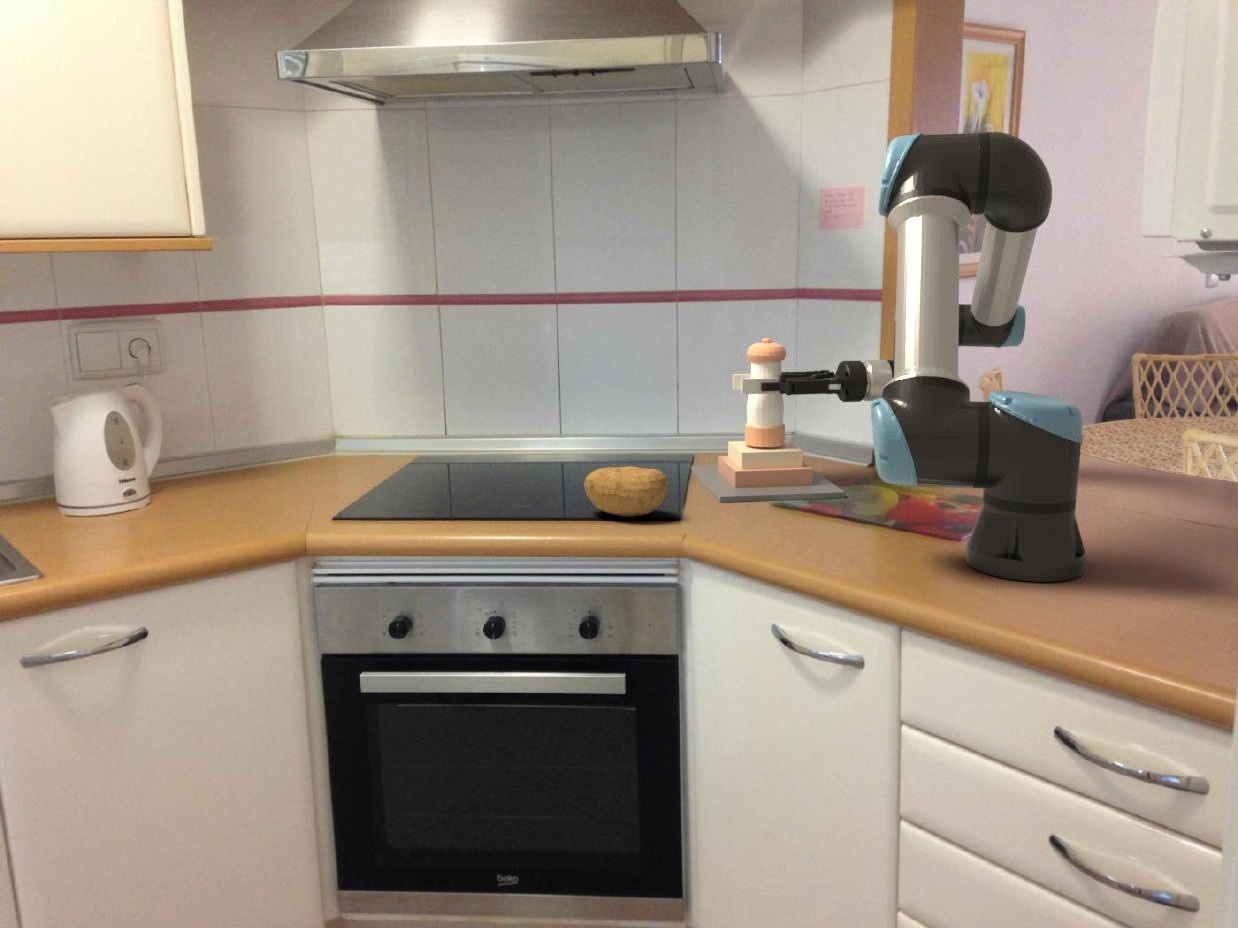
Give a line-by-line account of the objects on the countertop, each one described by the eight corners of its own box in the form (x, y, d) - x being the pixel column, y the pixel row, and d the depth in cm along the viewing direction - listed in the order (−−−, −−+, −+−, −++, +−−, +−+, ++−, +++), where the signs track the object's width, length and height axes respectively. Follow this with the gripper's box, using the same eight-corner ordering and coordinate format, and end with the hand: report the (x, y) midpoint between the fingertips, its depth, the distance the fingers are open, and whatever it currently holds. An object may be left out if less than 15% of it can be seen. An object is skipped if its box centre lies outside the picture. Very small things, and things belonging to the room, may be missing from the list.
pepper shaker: (787, 440, 192) (790, 336, 188) (781, 448, 185) (784, 340, 181) (748, 439, 194) (750, 336, 190) (741, 446, 187) (742, 339, 183)
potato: (596, 505, 176) (596, 459, 174) (675, 511, 171) (676, 464, 170) (574, 519, 167) (573, 470, 166) (657, 526, 162) (657, 476, 161)
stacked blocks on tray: (845, 497, 180) (846, 458, 178) (720, 502, 177) (720, 462, 176) (801, 466, 205) (802, 432, 203) (691, 470, 202) (691, 435, 201)
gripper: (880, 409, 181) (749, 413, 178) (844, 394, 199) (725, 397, 196) (881, 366, 179) (750, 369, 177) (845, 355, 198) (726, 358, 195)
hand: (737, 384), depth 186 cm, fingers open, 6 cm apart
